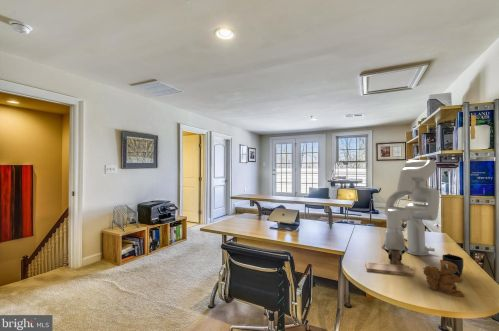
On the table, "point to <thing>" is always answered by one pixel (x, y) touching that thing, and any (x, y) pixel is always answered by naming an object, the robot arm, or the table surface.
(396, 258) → the walnut gauge
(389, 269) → the teak board
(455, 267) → the stuffed squirrel
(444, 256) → the mug
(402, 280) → the table surface
